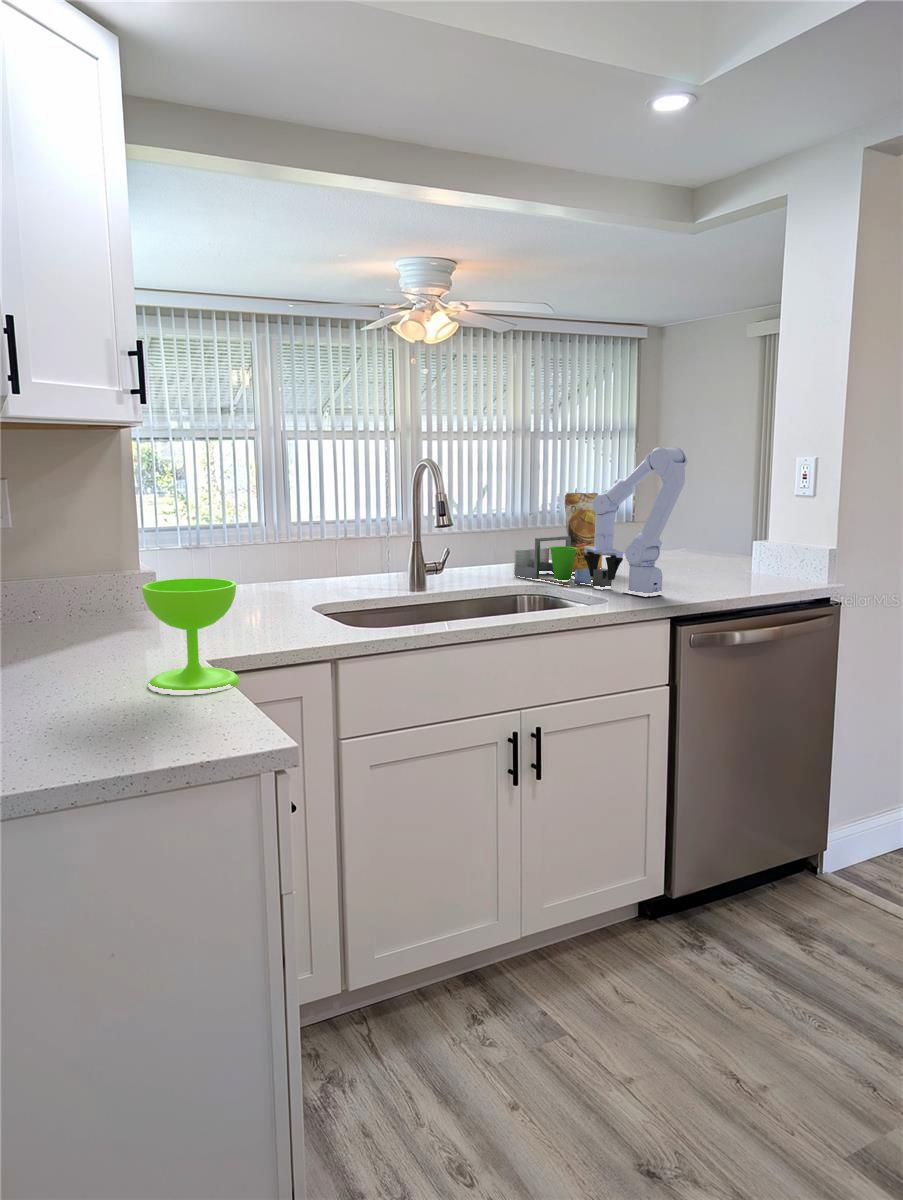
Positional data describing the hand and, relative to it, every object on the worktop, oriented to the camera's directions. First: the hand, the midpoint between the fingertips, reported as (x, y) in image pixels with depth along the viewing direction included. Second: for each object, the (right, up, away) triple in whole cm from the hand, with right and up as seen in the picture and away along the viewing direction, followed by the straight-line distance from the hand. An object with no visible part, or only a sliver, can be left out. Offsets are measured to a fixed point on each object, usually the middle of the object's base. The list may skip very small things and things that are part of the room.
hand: (602, 578), depth 260 cm
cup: (-10, -1, +15) cm, 18 cm away
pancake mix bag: (-1, +2, +34) cm, 34 cm away
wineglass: (-93, -22, -109) cm, 145 cm away
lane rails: (-9, -1, +13) cm, 16 cm away
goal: (-16, +1, +23) cm, 28 cm away
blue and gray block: (-2, -3, +3) cm, 5 cm away
